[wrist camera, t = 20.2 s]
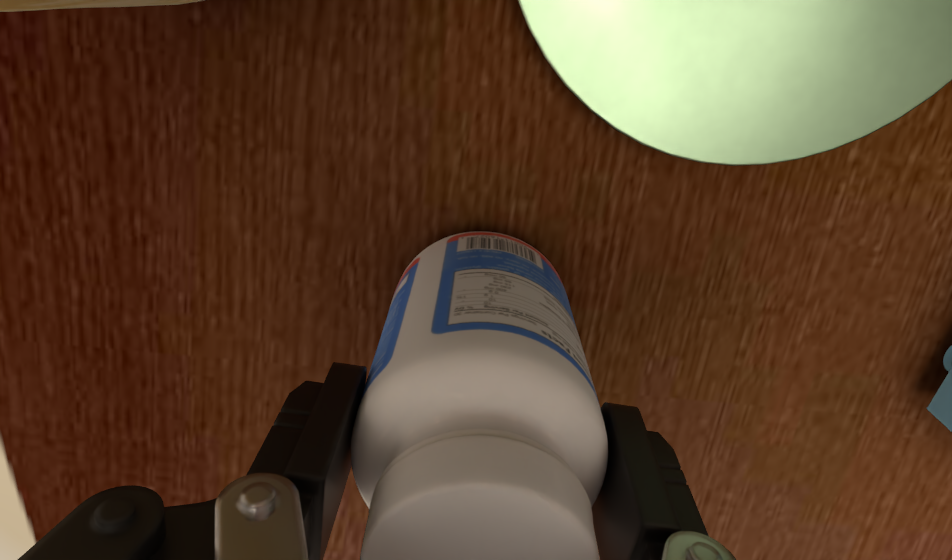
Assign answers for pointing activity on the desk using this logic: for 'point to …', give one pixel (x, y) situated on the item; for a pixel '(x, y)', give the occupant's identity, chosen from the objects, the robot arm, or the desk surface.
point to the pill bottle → (479, 413)
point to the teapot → (944, 395)
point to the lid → (746, 69)
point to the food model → (80, 4)
